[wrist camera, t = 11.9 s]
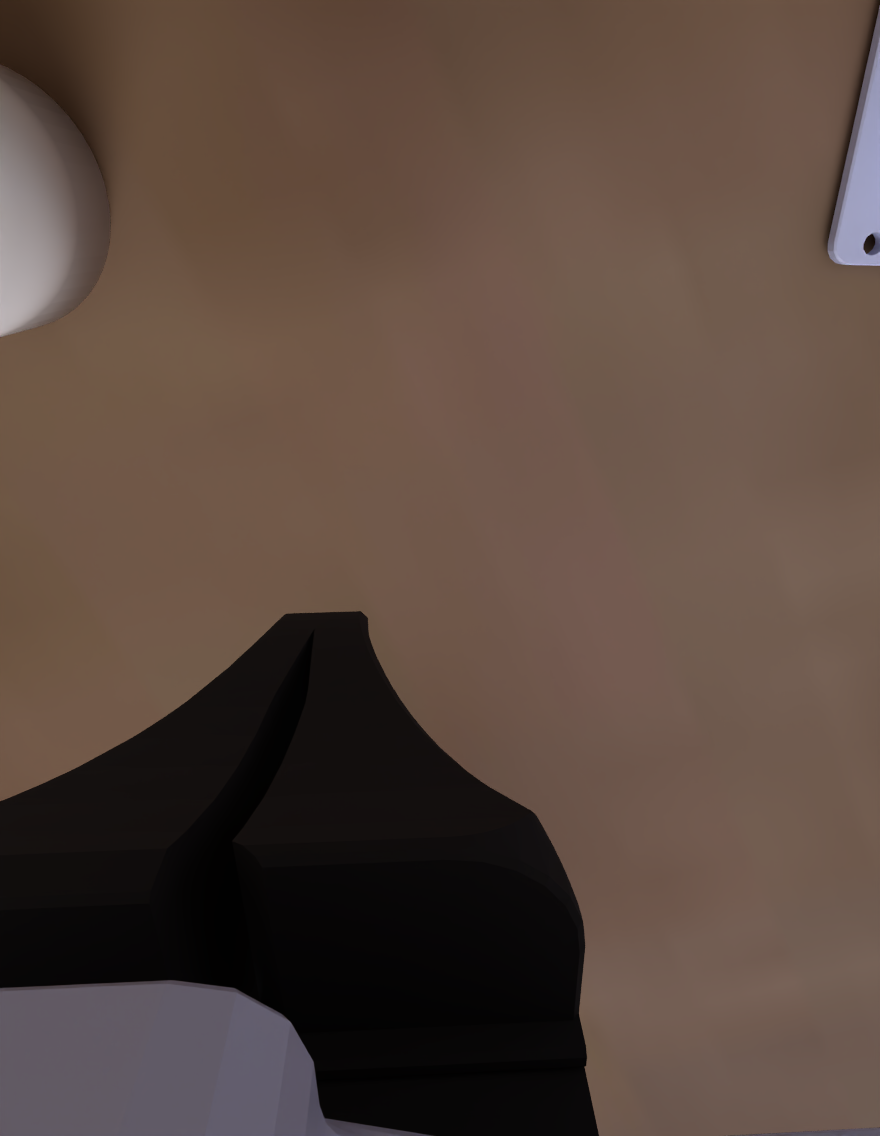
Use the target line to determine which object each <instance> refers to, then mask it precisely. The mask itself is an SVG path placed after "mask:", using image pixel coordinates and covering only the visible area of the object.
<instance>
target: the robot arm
mask: <svg viewBox="0 0 880 1136" xmlns="http://www.w3.org/2000/svg"><path fill="white" fill-rule="evenodd" d="M870 234H873V235H874V237H875V245H874V247H873V249H872V250H871V251H870V252H869V253H868V254H866V253H865V251H864V250H863V244H864V242H865V239H866V238H867V237H868V236H869V235H870ZM828 254H829V256H830V258H831V259H832V260H833V261H834V262H835V263H838V264H843V265H874V266H880V7H879V12H878V16H877V21H876V25H875V30H874V34H873V39H872V44H871V48H870V53H869V57H868V62H867V66H866V71H865V75H864V80H863V85H862V89H861V94H860V98H859V103H858V107H857V112H856V117H855V121H854V126H853V130H852V135H851V139H850V144H849V149H848V153H847V158H846V162H845V167H844V171H843V176H842V181H841V185H840V190H839V194H838V199H837V203H836V208H835V213H834V217H833V222H832V226H831V231H830V235H829V240H828ZM584 953H585V936H584V926H583V920H582V916H581V912H580V909H579V905H578V902H577V900H576V897H575V894H574V892H573V889H572V887H571V884H570V882H569V879H568V877H567V874H566V872H565V870H564V867H563V865H562V863H561V861H560V859H559V857H558V855H557V853H556V851H555V849H554V847H553V845H552V843H551V841H550V839H549V837H548V836H547V834H546V832H545V830H544V828H543V826H542V825H541V823H540V821H539V819H538V818H537V816H536V815H535V814H534V813H533V812H532V811H531V810H529V809H527V808H525V807H524V806H522V805H520V804H518V803H516V802H515V801H513V800H511V799H509V798H508V797H506V796H504V795H502V794H501V793H499V792H497V791H495V790H494V789H492V788H490V787H488V786H487V785H485V784H484V783H482V782H481V781H480V780H478V779H477V778H475V777H474V776H473V775H471V774H470V773H469V772H467V771H466V770H465V769H464V768H462V767H461V766H460V765H459V764H458V763H457V762H456V761H455V760H453V759H452V758H451V757H450V756H449V755H448V754H447V753H446V752H444V751H443V750H442V749H441V748H440V747H439V746H438V745H437V744H436V743H435V742H434V741H433V740H432V738H431V737H430V736H429V735H428V734H427V733H426V732H425V731H424V730H423V729H422V727H421V726H420V725H419V724H418V723H417V721H416V720H415V719H414V718H413V716H412V715H411V714H410V712H409V711H408V710H407V708H406V707H405V705H404V704H403V703H402V701H401V700H400V698H399V697H398V695H397V693H396V692H395V690H394V689H393V687H392V686H391V684H390V682H389V680H388V678H387V677H386V675H385V673H384V671H383V669H382V667H381V665H380V663H379V661H378V659H377V657H376V654H375V652H374V649H373V647H372V644H371V641H370V638H369V632H368V618H367V617H366V616H365V615H364V614H363V613H362V612H361V611H357V612H326V613H294V614H285V615H284V616H283V617H282V618H281V619H280V620H278V621H277V622H276V623H275V624H274V625H273V626H272V627H271V628H270V629H269V630H268V631H267V632H266V633H265V634H264V635H263V636H262V637H261V638H260V639H259V640H258V641H257V642H256V643H255V644H254V645H253V646H251V647H250V648H249V649H248V650H247V651H246V652H245V653H244V654H243V655H242V656H241V657H240V658H238V659H237V660H236V661H235V662H234V663H233V664H232V665H231V666H230V667H229V668H227V669H226V670H225V671H224V672H223V673H221V674H220V675H219V676H218V677H216V678H215V679H214V680H213V681H212V682H210V683H209V684H208V685H207V686H205V687H204V688H203V689H202V690H200V691H199V692H198V693H197V694H196V695H194V696H193V697H192V698H191V699H189V700H188V701H187V702H185V703H184V704H183V705H181V706H180V707H178V708H177V709H176V710H174V711H173V712H171V713H170V714H168V715H167V716H166V717H164V718H163V719H161V720H159V721H158V722H156V723H155V724H153V725H152V726H150V727H149V728H147V729H146V730H144V731H142V732H141V733H139V734H138V735H136V736H134V737H133V738H131V739H129V740H127V741H126V742H124V743H122V744H120V745H118V746H116V747H114V748H113V749H111V750H109V751H107V752H105V753H103V754H102V755H100V756H98V757H96V758H94V759H92V760H90V761H89V762H87V763H85V764H83V765H81V766H79V767H77V768H75V769H73V770H71V771H69V772H67V773H65V774H63V775H60V776H58V777H56V778H54V779H52V780H50V781H48V782H45V783H43V784H41V785H39V786H36V787H34V788H32V789H29V790H27V791H24V792H22V793H20V794H17V795H15V796H13V797H10V798H8V799H5V800H3V801H0V1136H599V1134H598V1129H597V1125H596V1120H595V1115H594V1110H593V1106H592V1101H591V1096H590V1091H589V1087H588V1082H587V1077H586V1073H585V1068H584V1066H586V1061H587V1054H586V1045H585V1040H584V1036H583V1031H582V1027H581V1022H580V1017H579V1005H580V994H581V984H582V974H583V964H584ZM730 1136H880V1127H879V1128H860V1129H842V1130H823V1131H805V1132H786V1133H768V1134H749V1135H730Z"/></svg>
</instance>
